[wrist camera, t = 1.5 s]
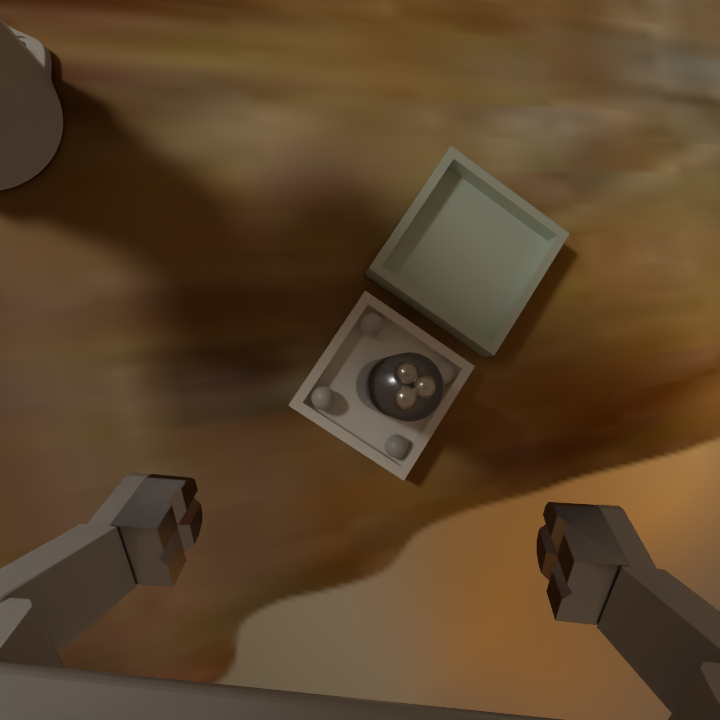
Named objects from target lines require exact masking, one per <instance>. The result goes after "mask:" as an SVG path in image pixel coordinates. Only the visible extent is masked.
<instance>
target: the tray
mask: <svg viewBox="0 0 720 720" xmlns="http://www.w3.org/2000/svg"><path fill="white" fill-rule="evenodd" d="M407 352H413V353H418V354H421V355H424V356H426V357H427V358H429V359H430V360H431V361H432V362H433V363H434V364H435V365H436V366H437V367H438V369H439V371H440V373H441V375H442V379H443V395H442V399H441V401H440V403H439V405H438V407H437V408H436V409H435V410H434V412H433V413H431V414H430V415H429V416H427V417H426V418H424V419H421V420H418V421H410V422H408V421H402V420H399V419H396V418H393V417H391V416H388V415H385V414H383V413H380V412H377V411H375V410H372V409H370V408H368V407H367V406H365V405H364V404H363V403H362V401H361V400H360V398H359V397H358V394H357V391H356V380H357V376H358V374H359V372H360V370H361V369H362V368H363V367H364V366H365V365H366V364H367V363H369V362H371V361H373V360H377V359H381V358H385V357H389V356H393V355H397V354H401V353H407ZM474 367H475V366H474V365H472V364H471V363H469V362H468V361H467V360H465V359H464V358H462V357H461V356H459V355H458V354H456V353H455V352H454V351H452V350H451V349H449V348H448V347H446V346H445V345H443V344H442V343H441V342H439V341H438V340H436V339H435V338H433V337H432V336H430V335H429V334H428V333H426V332H425V331H423V330H422V329H420V328H419V327H417V326H416V325H414V324H413V323H412V322H410V321H409V320H407V319H406V318H404V317H403V316H401V315H400V314H399V313H397V312H396V311H394V310H393V309H391V308H390V307H388V306H387V305H386V304H384V303H383V302H381V301H380V300H378V299H377V298H375V297H374V296H373V295H371V294H370V293H368V292H367V291H365V292H364V293H363V294H362V295H361V297H360V298H359V300H358V301H357V303H356V304H355V306H354V307H353V309H352V310H351V312H350V313H349V315H348V316H347V318H346V319H345V321H344V322H343V324H342V325H341V327H340V328H339V330H338V331H337V333H336V334H335V336H334V337H333V339H332V340H331V342H330V343H329V345H328V346H327V348H326V349H325V351H324V352H323V354H322V355H321V357H320V358H319V360H318V361H317V363H316V364H315V366H314V367H313V369H312V370H311V372H310V373H309V375H308V376H307V378H306V379H305V381H304V382H303V384H302V385H301V387H300V388H299V390H298V391H297V393H296V394H295V396H294V397H293V399H292V400H291V401H290V403H289V405H288V406H290V407H291V408H293V409H294V410H296V411H297V412H299V413H301V414H302V415H304V416H305V417H307V418H308V419H310V420H311V421H313V422H314V423H316V424H317V425H319V426H321V427H322V428H324V429H325V430H327V431H328V432H330V433H331V434H333V435H334V436H336V437H337V438H339V439H341V440H342V441H344V442H345V443H347V444H348V445H350V446H351V447H353V448H354V449H356V450H357V451H359V452H361V453H362V454H364V455H365V456H367V457H368V458H370V459H371V460H373V461H374V462H376V463H377V464H379V465H381V466H382V467H384V468H385V469H387V470H388V471H390V472H391V473H393V474H394V475H396V476H397V477H399V478H401V479H402V480H405V478H406V477H407V475H408V473H409V472H410V470H411V469H412V467H413V465H414V464H415V462H416V460H417V459H418V457H419V456H420V454H421V452H422V451H423V449H424V448H425V446H426V444H427V443H428V441H429V440H430V438H431V436H432V435H433V433H434V432H435V430H436V428H437V427H438V425H439V424H440V422H441V420H442V419H443V417H444V415H445V414H446V412H447V411H448V409H449V407H450V406H451V404H452V403H453V401H454V399H455V398H456V396H457V395H458V393H459V391H460V390H461V388H462V387H463V385H464V383H465V382H466V380H467V378H468V377H469V375H470V374H471V372H472V370H473V369H474Z"/></svg>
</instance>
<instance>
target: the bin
mask: <svg viewBox="0 0 720 720" xmlns="http://www.w3.org/2000/svg"><path fill="white" fill-rule="evenodd" d="M568 236H569V233H568V232H567V231H565V230H564V229H563V228H561V227H560V226H559V225H557V224H556V223H555V222H553V221H552V220H551V219H549V218H548V217H546V216H545V215H544V214H542V213H541V212H540V211H538V210H537V209H536V208H534V207H533V206H532V205H530V204H529V203H528V202H526V201H525V200H524V199H522V198H521V197H520V196H518V195H517V194H515V193H514V192H513V191H511V190H510V189H509V188H507V187H506V186H505V185H503V184H502V183H501V182H499V181H498V180H497V179H495V178H494V177H493V176H491V175H490V174H489V173H487V172H486V171H485V170H483V169H482V168H480V167H479V166H478V165H476V164H475V163H474V162H472V161H471V160H470V159H468V158H467V157H466V156H464V155H463V154H462V153H460V152H459V151H458V150H456V149H455V148H454V147H452V146H450V148H449V149H448V151H447V152H446V154H445V155H444V157H443V158H442V160H441V161H440V163H439V164H438V166H437V167H436V169H435V170H434V172H433V173H432V175H431V176H430V178H429V179H428V181H427V182H426V184H425V185H424V187H423V188H422V190H421V191H420V193H419V194H418V196H417V197H416V198H415V200H414V201H413V203H412V204H411V206H410V207H409V209H408V210H407V212H406V213H405V215H404V216H403V218H402V219H401V221H400V222H399V224H398V225H397V227H396V228H395V230H394V231H393V233H392V234H391V236H390V237H389V239H388V240H387V242H386V243H385V245H384V246H383V247H382V249H381V250H380V252H379V253H378V255H377V256H376V258H375V259H374V261H373V262H372V264H371V265H370V267H369V268H368V270H367V271H366V273H365V274H364V275H365V276H367V277H368V278H370V279H371V280H373V281H374V282H376V283H377V284H378V285H380V286H381V287H383V288H384V289H386V290H387V291H388V292H390V293H391V294H393V295H394V296H396V297H397V298H399V299H400V300H401V301H403V302H404V303H406V304H407V305H409V306H410V307H412V308H413V309H414V310H416V311H417V312H419V313H420V314H422V315H423V316H424V317H426V318H427V319H429V320H430V321H432V322H433V323H435V324H436V325H437V326H439V327H440V328H442V329H443V330H445V331H446V332H448V333H449V334H450V335H452V336H453V337H455V338H456V339H458V340H459V341H460V342H462V343H463V344H465V345H466V346H468V347H469V348H471V349H472V350H473V351H475V352H476V353H478V354H479V355H481V356H482V357H487V356H494V355H495V354H496V352H497V351H498V349H499V347H500V346H501V344H502V343H503V341H504V339H505V338H506V336H507V334H508V333H509V331H510V330H511V328H512V326H513V325H514V323H515V322H516V320H517V318H518V317H519V315H520V313H521V312H522V310H523V309H524V307H525V305H526V304H527V302H528V300H529V299H530V297H531V296H532V294H533V292H534V291H535V289H536V288H537V286H538V284H539V283H540V281H541V279H542V278H543V276H544V275H545V273H546V271H547V270H548V268H549V266H550V265H551V263H552V262H553V260H554V258H555V257H556V255H557V254H558V252H559V250H560V249H561V247H562V245H563V244H564V242H565V241H566V239H567V237H568Z"/></svg>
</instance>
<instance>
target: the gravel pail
mask: <svg viewBox="0 0 720 720" xmlns="http://www.w3.org/2000/svg"><path fill="white" fill-rule="evenodd" d="M356 391H357V394H358V397H359V398H360V400H361V401H362V403H363V404H364V405H365V406H367V407H368V408H370V409H372V410H375V411H377V412H380V413H383V414H385V415H388V416H391V417H393V418H396V419H399V420H402V421H408V422H410V421H418V420H421V419H424V418H426V417H427V416H429V415H430V414H431V413H433V412H434V410H435V409H436V408H437V407H438V405H439V403H440V401H441V399H442V395H443V379H442V375H441V373H440V371H439V369H438V367H437V366H436V365H435V364H434V363H433V362H432V361H431V360H430V359H429V358H427V357H426V356H424V355H421V354H418V353H413V352H407V353H401V354H397V355H393V356H389V357H385V358H381V359H377V360H373V361H371V362H369V363H367V364H366V365H365V366H364V367H363V368H362V369H361V370H360V372H359V374H358V376H357V380H356Z"/></svg>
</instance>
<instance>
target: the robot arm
mask: <svg viewBox="0 0 720 720" xmlns="http://www.w3.org/2000/svg"><path fill="white" fill-rule="evenodd" d="M51 69H52V61H51V55H50V52H49V50H48V49H47V48H46V47H45V46H44V45H43V44H42V43H41V42H40V41H38V40H37V39H35V38H33V37H30V36H28V35H26V34H24V33H22V32H20V31H17V30H15V29H13V28H11V27H9V26H7V25H6V24H5V23H4V21H3V20H2V19H1V18H0V190H5V189H9V188H12V187H15V186H18V185H20V184H22V183H24V182H26V181H28V180H30V179H31V178H33V177H34V176H36V175H37V174H38V173H39V172H41V171H42V170H43V169H44V168H45V167H46V166H47V164H48V163H49V162H50V161H51V159H52V158H53V156H54V154H55V153H56V151H57V149H58V146H59V144H60V141H61V137H62V131H63V113H62V108H61V104H60V101H59V98H58V96H57V93H56V91H55V89H54V86H53V83H52V80H51ZM197 491H198V489H197V485H196V481H195V479H193V478H190V477H179V476H169V475H158V474H143V473H133V472H132V473H130V474H128V475H126V476H125V477H124V478H123V479H122V481H121V482H120V483H119V484H118V486H117V487H116V488H115V489H114V491H113V492H112V493H111V494H110V496H109V497H108V498H107V500H106V501H105V502H104V503H103V505H102V506H101V507H100V508H99V510H98V511H97V512H96V513H95V515H94V516H93V517H92V519H91V520H90V521H89V522H88V524H80V525H78V526H76V527H74V528H72V529H71V530H69V531H67V532H65V533H64V534H62V535H60V536H58V537H56V538H55V539H53V540H51V541H49V542H48V543H46V544H44V545H42V546H40V547H39V548H37V549H35V550H33V551H32V552H30V553H28V554H26V555H24V556H23V557H21V558H19V559H17V560H15V561H14V562H12V563H10V564H8V565H7V566H5V567H3V568H1V569H0V720H561V719H552V718H542V717H532V716H523V715H514V714H503V713H494V712H484V711H474V710H465V709H456V708H446V707H436V706H427V705H426V706H425V705H417V704H407V703H398V702H387V701H378V700H369V699H358V698H349V697H339V696H330V695H320V694H310V693H300V692H291V691H281V690H272V689H262V688H252V687H242V686H232V685H223V684H214V683H204V682H195V681H185V680H175V679H166V678H156V677H147V676H137V675H127V674H118V673H108V672H99V671H89V670H79V669H70V668H66V667H65V665H64V663H63V661H62V660H61V658H60V656H59V654H58V653H60V652H61V651H62V650H63V649H64V648H65V647H67V646H68V645H69V644H70V643H71V642H72V641H74V640H75V639H76V638H77V637H78V636H79V635H81V634H82V633H83V632H84V631H85V630H86V629H88V628H89V627H90V626H91V625H92V624H93V623H95V622H96V621H97V620H98V619H99V618H100V617H102V616H103V615H104V614H105V613H106V612H107V611H109V610H110V609H111V608H112V607H113V606H114V605H116V604H117V603H118V602H119V601H120V600H121V599H123V598H124V597H125V596H126V595H127V594H128V593H130V592H131V591H132V590H133V589H134V588H135V587H136V584H138V585H155V586H172V587H173V586H174V584H175V582H176V580H177V578H178V576H179V574H180V572H181V570H182V568H183V566H184V564H185V562H186V558H185V554H184V552H185V551H186V550H188V549H189V548H190V547H192V546H193V545H194V544H195V542H196V540H197V538H198V536H199V533H200V529H201V524H202V508H201V504H200V503H199V502H198V501H197V500H196V499H195V498H194V496H195V494H196V492H197ZM543 516H544V519H545V522H546V524H545V525H544V526H543V527H541V528H540V529H539V533H538V537H537V557H538V563H539V567H540V570H541V573H542V574H543V575H544V576H545V577H546V578H547V579H548V580H549V584H548V588H547V594H548V598H549V601H550V604H551V607H552V611H553V614H554V617H555V620H558V621H566V622H576V623H584V624H593V625H598V626H597V628H598V629H599V630H600V631H601V632H602V633H603V634H604V636H605V637H606V638H607V639H608V640H609V641H610V643H611V644H612V645H613V646H614V647H615V648H616V649H617V651H618V652H619V653H620V654H621V655H622V656H623V658H624V659H625V660H626V661H627V662H628V663H629V664H630V665H631V667H632V668H633V669H634V670H635V671H636V672H637V673H638V675H639V676H640V677H641V678H642V679H643V680H644V682H645V683H646V684H647V685H648V686H649V687H650V689H651V690H652V691H653V692H654V693H655V694H656V695H657V697H658V698H659V699H660V700H661V701H662V702H663V703H664V705H665V706H666V707H667V708H668V709H669V710H670V712H671V713H672V714H671V716H670V718H669V719H668V720H720V612H719V611H718V610H717V609H715V608H714V607H713V606H711V605H710V604H709V603H707V602H706V601H705V600H703V599H702V598H701V597H700V596H698V595H697V594H695V593H694V592H693V591H692V590H690V589H689V588H688V587H686V586H685V585H684V584H682V583H681V582H680V581H679V580H677V579H676V578H675V577H673V576H672V575H671V574H669V573H668V572H667V571H665V570H660V569H657V568H656V566H655V565H654V563H653V561H652V559H651V558H650V556H649V554H648V552H647V550H646V549H645V547H644V545H643V543H642V542H641V540H640V538H639V536H638V534H637V533H636V531H635V529H634V527H633V525H632V524H631V522H630V520H629V519H628V517H627V515H626V513H625V511H624V510H623V509H622V508H621V507H620V506H609V505H589V504H572V503H555V502H548V504H547V505H546V506H545V510H544V513H543Z"/></svg>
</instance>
